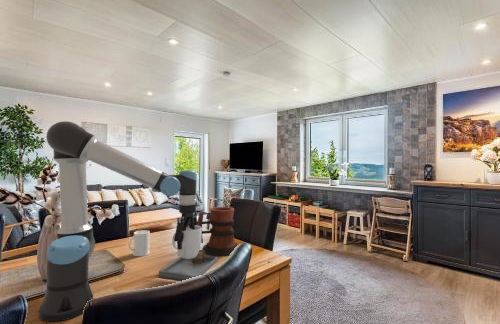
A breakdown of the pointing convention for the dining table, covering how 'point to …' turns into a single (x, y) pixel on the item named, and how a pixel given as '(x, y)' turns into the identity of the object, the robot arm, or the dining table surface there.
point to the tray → (187, 268)
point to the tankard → (219, 231)
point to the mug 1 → (141, 243)
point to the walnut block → (199, 257)
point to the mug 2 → (190, 242)
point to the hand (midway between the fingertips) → (187, 251)
